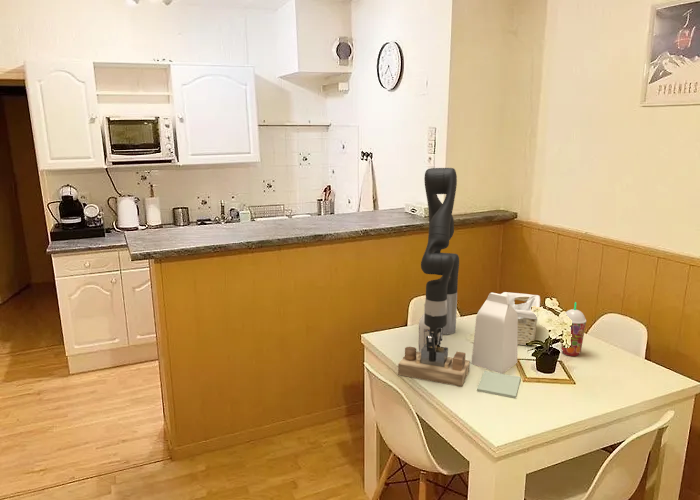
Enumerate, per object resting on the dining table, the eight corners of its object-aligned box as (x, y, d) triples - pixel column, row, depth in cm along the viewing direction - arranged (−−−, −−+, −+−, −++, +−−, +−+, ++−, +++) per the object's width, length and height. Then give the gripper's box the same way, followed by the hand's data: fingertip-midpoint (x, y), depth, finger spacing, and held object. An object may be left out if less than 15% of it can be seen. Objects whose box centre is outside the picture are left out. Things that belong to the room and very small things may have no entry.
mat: (484, 372, 179) (484, 370, 179) (520, 379, 175) (520, 376, 174) (476, 391, 167) (477, 388, 167) (515, 398, 162) (515, 396, 162)
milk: (471, 363, 186) (474, 294, 181) (486, 353, 195) (490, 287, 189) (502, 373, 178) (506, 302, 173) (517, 363, 187) (522, 294, 181)
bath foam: (441, 354, 193) (442, 304, 189) (427, 360, 189) (428, 308, 185) (427, 349, 199) (428, 299, 194) (414, 353, 195) (415, 303, 190)
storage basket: (499, 322, 226) (501, 290, 223) (538, 327, 220) (541, 294, 217) (492, 343, 204) (494, 307, 201) (536, 349, 199) (538, 312, 195)
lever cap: (424, 357, 182) (425, 342, 181) (447, 361, 179) (448, 346, 178) (420, 363, 178) (421, 347, 177) (443, 367, 175) (444, 351, 173)
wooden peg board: (408, 360, 189) (409, 340, 187) (469, 371, 180) (470, 350, 179) (398, 374, 178) (398, 353, 177) (462, 386, 170) (463, 364, 168)
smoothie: (558, 355, 192) (563, 304, 188) (558, 347, 200) (563, 297, 195) (583, 359, 189) (588, 307, 185) (582, 350, 197) (587, 300, 192)
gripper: (430, 303, 182) (429, 348, 186) (419, 316, 169) (417, 364, 173) (451, 306, 179) (449, 351, 183) (441, 319, 166) (439, 368, 170)
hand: (434, 357), depth 178 cm, fingers closed on lever cap, 5 cm apart
